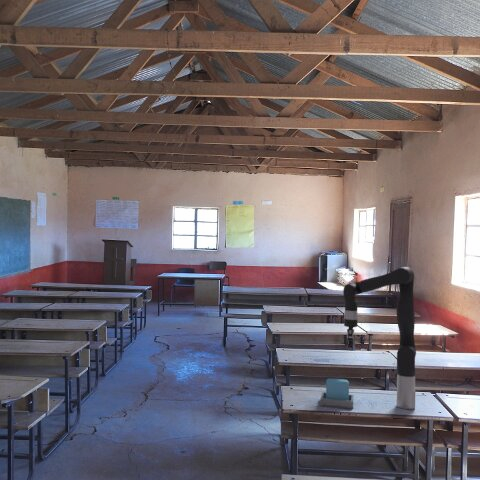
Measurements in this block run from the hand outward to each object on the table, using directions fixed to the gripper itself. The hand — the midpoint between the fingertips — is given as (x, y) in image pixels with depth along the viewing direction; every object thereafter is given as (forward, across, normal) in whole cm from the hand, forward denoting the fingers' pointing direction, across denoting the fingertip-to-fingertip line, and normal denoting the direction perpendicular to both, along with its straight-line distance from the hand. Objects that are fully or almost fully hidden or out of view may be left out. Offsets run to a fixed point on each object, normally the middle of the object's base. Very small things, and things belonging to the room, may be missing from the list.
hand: (350, 346), depth 289 cm
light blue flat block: (+27, -19, +6) cm, 34 cm away
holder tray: (+28, -19, +6) cm, 34 cm away
